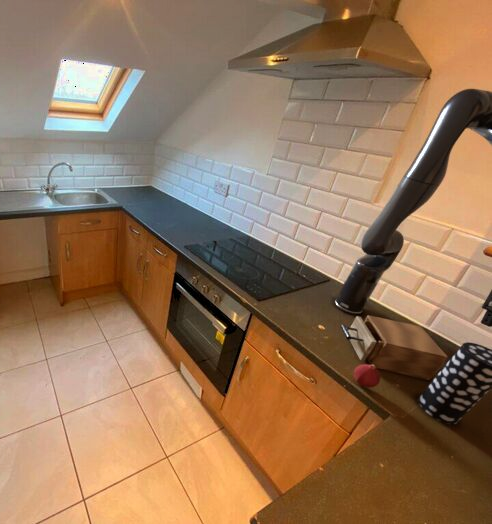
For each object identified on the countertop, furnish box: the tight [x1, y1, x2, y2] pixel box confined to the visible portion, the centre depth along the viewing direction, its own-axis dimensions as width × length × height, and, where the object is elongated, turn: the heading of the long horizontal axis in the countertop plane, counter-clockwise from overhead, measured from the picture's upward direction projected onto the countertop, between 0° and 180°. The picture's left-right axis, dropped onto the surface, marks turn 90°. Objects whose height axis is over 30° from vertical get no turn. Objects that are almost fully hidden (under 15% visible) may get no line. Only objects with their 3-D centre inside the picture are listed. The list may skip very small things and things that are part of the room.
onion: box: [353, 363, 381, 388], centre depth 82 cm, size 6×6×8 cm
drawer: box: [340, 315, 384, 362], centre depth 94 cm, size 19×12×8 cm, turn 76°
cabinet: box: [364, 314, 448, 381], centre depth 93 cm, size 16×14×10 cm
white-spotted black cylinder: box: [417, 341, 492, 425], centre depth 75 cm, size 8×8×20 cm
